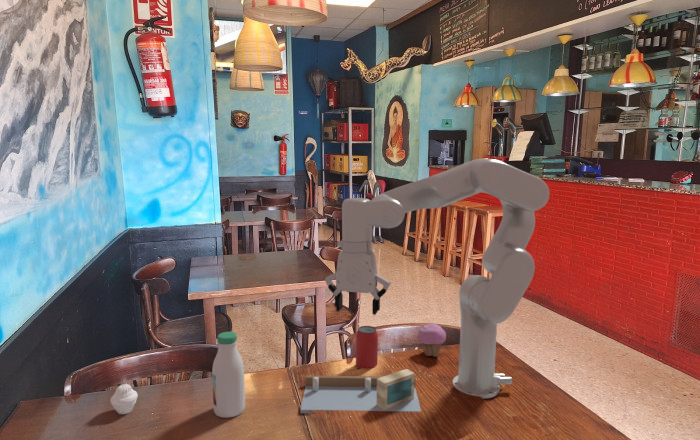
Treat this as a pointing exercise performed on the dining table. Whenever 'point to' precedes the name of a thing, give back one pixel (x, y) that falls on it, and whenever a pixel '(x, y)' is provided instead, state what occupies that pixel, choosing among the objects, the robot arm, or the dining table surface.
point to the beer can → (366, 347)
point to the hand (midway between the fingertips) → (357, 311)
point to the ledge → (347, 395)
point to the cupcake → (431, 339)
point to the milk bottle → (228, 378)
